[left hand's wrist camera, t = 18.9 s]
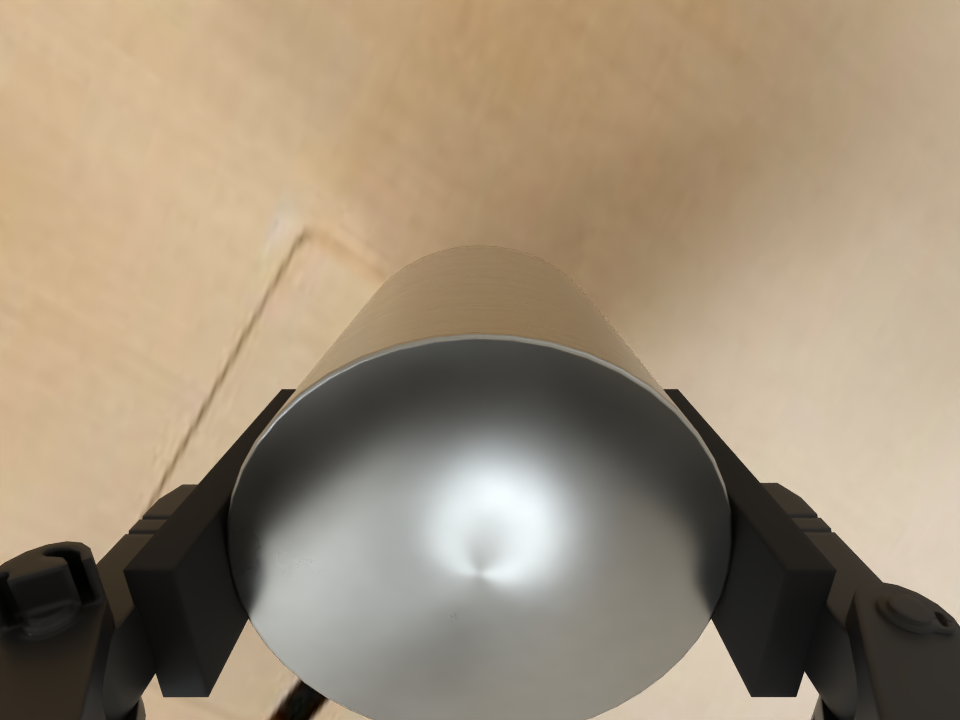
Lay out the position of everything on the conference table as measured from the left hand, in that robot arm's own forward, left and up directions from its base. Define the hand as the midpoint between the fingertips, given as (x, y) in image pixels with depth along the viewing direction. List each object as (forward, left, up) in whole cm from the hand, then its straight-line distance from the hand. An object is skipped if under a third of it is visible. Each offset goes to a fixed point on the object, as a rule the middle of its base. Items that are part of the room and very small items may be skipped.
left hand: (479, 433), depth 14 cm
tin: (0, 0, -4) cm, 4 cm away
